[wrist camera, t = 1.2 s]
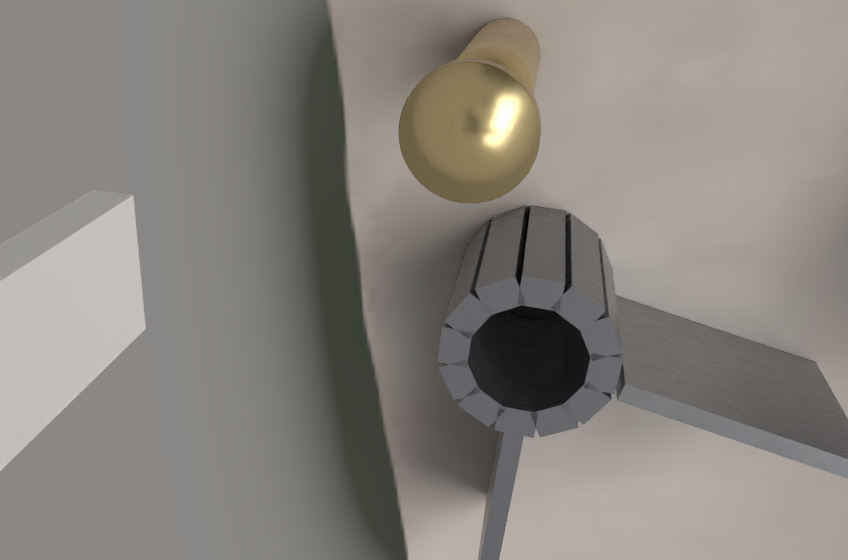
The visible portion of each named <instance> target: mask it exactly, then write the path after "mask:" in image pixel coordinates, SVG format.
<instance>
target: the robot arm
mask: <svg viewBox="0 0 848 560" xmlns="http://www.w3.org/2000/svg"><path fill="white" fill-rule="evenodd" d="M145 329H146V327H145V317H144V306H143V295H142V285H141V274H140V263H139V252H138V241H137V230H136V220H135V209H134V198H133V195H128V194H121V193H114V192H106V191H98V190H92V191H91V192H89V193H87V194H85V195H84V196H82V197H80V198H79V199H77V200H75V201H74V202H72V203H70V204H68V205H67V206H65V207H63V208H61V209H60V210H58V211H56V212H55V213H53V214H51V215H49V216H48V217H46V218H44V219H42V220H41V221H39V222H37V223H36V224H34V225H32V226H31V227H29V228H27V229H25V230H24V231H22V232H20V233H18V234H17V235H15V236H13V237H12V238H10V239H8V240H6V241H5V242H3V243H1V244H0V471H1V470H2V469H3V468H4V467H5V466H6V465H7V464H8V463H9V462H10V461H11V460H12V459H13V458H14V457H15V456H16V455H17V454H18V453H19V452H20V451H21V450H22V449H23V448H24V447H25V446H26V445H27V444H28V443H29V442H30V441H31V440H32V439H33V438H34V437H36V436H37V434H38V433H40V432H41V431H42V430H43V429H44V428H45V427H46V426H47V425H48V424H49V423H50V422H51V421H52V420H53V419H54V418H55V417H56V416H57V415H58V414H59V413H60V412H61V411H62V410H63V409H64V408H65V407H66V406H67V405H68V404H69V403H70V402H71V401H72V400H73V399H74V398H75V397H76V396H77V395H78V394H79V393H81V392H82V391H83V390H84V389H85V388H86V387H87V386H88V385H89V384H90V383H91V382H92V381H93V380H94V379H95V378H96V377H97V376H98V375H99V374H100V373H101V372H102V371H103V370H104V369H105V368H106V367H107V366H108V365H109V364H110V363H111V362H112V361H113V360H114V359H115V358H116V357H117V356H118V355H119V354H120V353H121V352H122V351H123V350H124V349H125V348H126V347H128V346H129V345H130V344H131V342H132V341H133V340H135V339H136V338H137V337H138V336H139V335H140V334H141V333H142V332H143V331H144V330H145Z"/></svg>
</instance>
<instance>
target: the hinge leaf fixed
mask: <svg viewBox="0 0 848 560" xmlns="http://www.w3.org/2000/svg"><path fill="white" fill-rule="evenodd" d="M521 305H523V306H528V307H534V308H540V309H546V310H552V311H555V312H557V313H558V314H559V315H558V316H554V317H551V318H548V319H544V320H541V321H538V320H532V319H526V318H520V317H515V316H513V315H512V314H511V313H510V312H508V311H507V310H509V309H512V308H515V307H518V306H521ZM437 362H439V366H438V369H439V371H440V373H441V375H442V377H443V380H444V382H445V384H446V386H447V388H448V390H449V392H450V394H451V396H452V399H453V400H457V399H459V400H458V406H459V407H461V408H462V409H463V410H465V411H466V412H468V413H469V414H470V415H472V416H473V417H474V418H476V419H477V420H479V421H480V422H481V423H483V424H484V425H485V426H487V427H488V428H489V427H490V426H491V425H492V424H493V423H494V422H495V421H496V423H495V430H496V431H499V432H498V437H497V443H496V448H495V454H494V459H493V465H492V470H491V475H490V481H489V486H488V492H487V498H486V506H485V513H484V520H483V527H482V535H481V542H480V549H479V556H478V560H499V557H500V552H501V547H502V542H503V537H504V532H505V527H506V522H507V517H508V512H509V507H510V502H511V497H512V492H513V487H514V482H515V477H516V472H517V467H518V462H519V457H520V452H521V447H522V442H523V436H528V437H534V432H535V428H536V429H537V431H538V434H539V436H540V437H543V436H547V435H551V434H555V433H559V432H563V431H566V430H570V429H574V428H578V421H580V422H581V423H582V424H585V423H586V422H587V421H588V420H589V419H590V418H591V417H592V416H594V415H595V414H596V413H597V412H598V411H599V410H600V409H601V408H602V407H603V406H604V405H605V404H607V403H608V402H609V401H610V400H611V393H612V394H615V390H616V386H617V382H618V378H619V374H620V370H621V366H622V362H623V349H622V341H621V334H620V326H619V319H618V311H617V303H616V296H615V288H614V281H613V273H612V267H611V265H610V262H609V259H608V257H607V254H606V251H605V249H604V246H603V243H602V240H601V239H598V234H597V233H595V232H594V231H593V230H592V229H590V228H589V227H588V226H586V225H585V224H584V223H583V222H581V221H580V220H579V219H577V218H576V217H575V216H574V215H572V214H570V215H569V216H568V217H567V218H566V219H565V211H562V210H556V209H549V208H543V207H537V206H531V207H530V213H529V215H528V212H527V210H526V207H525V206H524V207H521V208H518V209H515V210H513V211H510V212H507V213H504V214H501V215H498V216H496V217H493V219H492V223H491V222H489V221H487V223H486V224H485V225H484V226H483V227H482V228H481V230H480V231H479V232H478V233H477V234H476V236H475V237H474V238H473V239H472V240H471V241H470V243H469V244H468V245H467V248H466V250H465V252H464V256H463V259H462V262H461V266H460V269H459V272H458V275H457V279H456V282H455V285H454V288H453V292H452V295H451V298H450V301H449V305H448V308H447V311H446V315H445V318H444V321H443V324H442V329H441V336H440V343H439V351H438V358H437Z"/></svg>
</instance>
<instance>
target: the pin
mask: <svg viewBox="0 0 848 560" xmlns="http://www.w3.org/2000/svg"><path fill="white" fill-rule="evenodd" d="M539 61H540V46H539V43H538V40H537V38H536V36H535V34H534V33H533V32H532V30H531V29H530V28H529V27H528V26H526V25H525V24H524V23H522V22H520V21H517V20H514V19H498V20H495V21H492V22H490V23H488V24H486V25H485V26H484V27H483V28H481V29H480V31H479V32H478V33H477V34H476V35H475V37H474V38H473V39H472V41H471V42H470V43H469V44H468V46H467V47H466V48H465V49H464V51H463V52H462V53H461V54H460V56H459V57H458V58H457V60H455V61H451V62H448V63H445V64H443V65H441V66H439V67H437V68H436V69H434V70H433V71H431V72H430V73H429V74H428V75H427V76H425V77H424V78H423V79H422V80H421V81H420V83H419V84H418V85H417V86H416V87H415V88H414V90H413V91H412V92H411V94H410V95H409V97H408V98H407V100H406V102H405V105H404V107H403V110H402V113H401V116H400V122H399V143H400V147H401V152H402V155H403V157H404V160H405V162H406V164H407V166H408V168H409V170H410V171H411V172H412V174H413V175H414V177H415V178H416V179H417V180H418V181H419V182H420V183H421V184H422V185H423V186H424V187H426V188H427V189H428V190H430V191H431V192H433V193H434V194H436V195H438V196H440V197H442V198H445V199H448V200H450V201H455V202H459V203H481V202H487V201H490V200H493V199H496V198H498V197H501V196H503V195H505V194H506V193H508V192H510V191H511V190H512V189H514V188H515V187H516V186H517V185H518V184H519V183H520V182H521V181H522V180H523V179H524V178H525V177H526V175H527V174H528V173H529V171H530V169H531V167H532V166H533V164H534V161H535V159H536V156H537V153H538V148H539V142H540V133H541V120H540V114H539V110H538V106H537V103H536V101H535V99H534V97H533V94H534V88H535V83H536V78H537V72H538V67H539Z"/></svg>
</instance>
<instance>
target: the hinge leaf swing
mask: <svg viewBox="0 0 848 560" xmlns="http://www.w3.org/2000/svg"><path fill="white" fill-rule="evenodd" d="M615 296H616V295H615ZM616 303H617V311H618V319H619V326H620V334H621V341H622V349H623V362H622V366H621V370H620V374H619V378H618V382H617V386H616V391H617V400H618V401H621V402H624V403H627V404H630V405H633V406H636V407H639V408H642V409H645V410H648V411H651V412H654V413H657V414H660V415H663V416H665V417H668V418H671V419H674V420H677V421H680V422H683V423H686V424H689V425H692V426H695V427H698V428H701V429H704V430H707V431H710V432H713V433H716V434H719V435H721V436H724V437H727V438H730V439H733V440H736V441H739V442H742V443H745V444H748V445H751V446H754V447H757V448H760V449H763V450H766V451H769V452H772V453H775V454H778V455H780V456H783V457H786V458H789V459H792V460H795V461H798V462H801V463H804V464H807V465H810V466H813V467H816V468H819V469H822V470H825V471H828V472H831V473H834V474H837V475H839V476H842V477H845V478H848V419H847V417H846V415H845V413H844V411H843V410H842V408H841V406H840V404H839V403H838V401H837V399H836V397H835V396H834V394H833V392H832V390H831V388H830V387H829V385H828V383H827V381H826V380H825V378H824V376H823V374H822V373H821V371H820V369H819V367H818V365H817V364H816V363H815V362H812V361H809V360H806V359H803V358H800V357H797V356H794V355H791V354H788V353H785V352H782V351H780V350H777V349H774V348H771V347H768V346H765V345H762V344H759V343H756V342H753V341H750V340H747V339H744V338H741V337H738V336H735V335H732V334H729V333H726V332H723V331H720V330H717V329H714V328H711V327H708V326H705V325H702V324H699V323H696V322H693V321H690V320H687V319H684V318H681V317H678V316H675V315H672V314H669V313H666V312H663V311H660V310H657V309H654V308H651V307H648V306H645V305H642V304H639V303H636V302H633V301H631V300H628V299H625V298H622V297H619V296H616Z"/></svg>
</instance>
